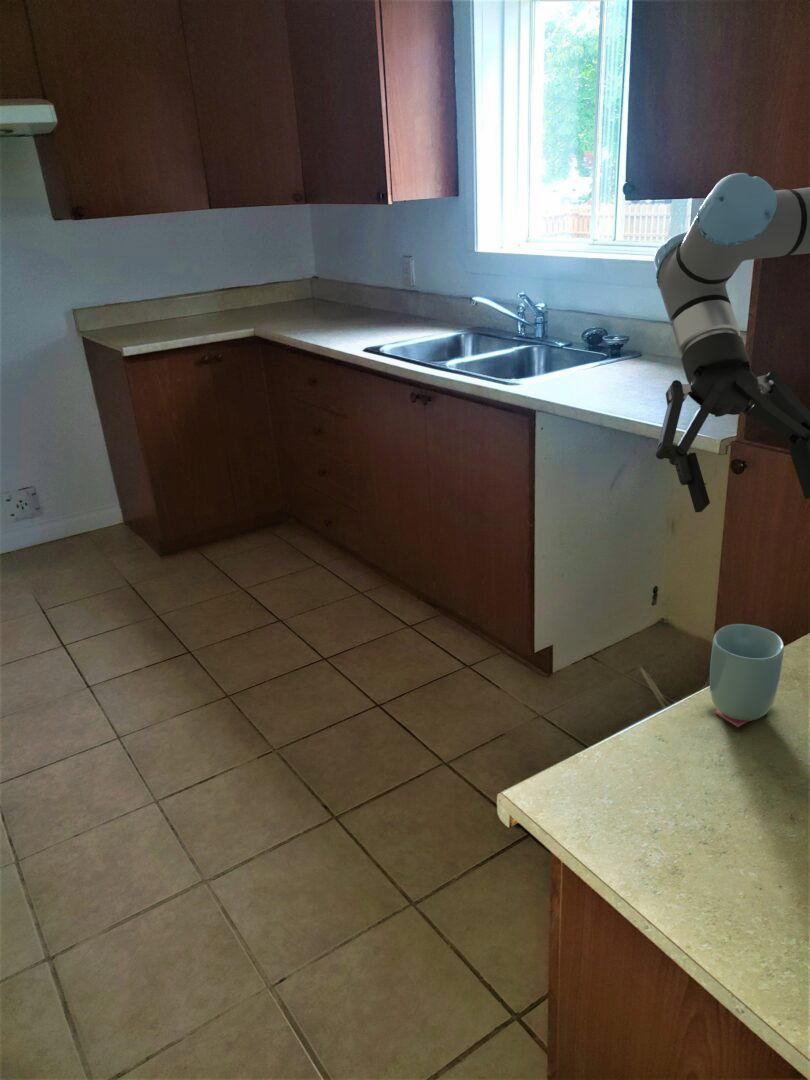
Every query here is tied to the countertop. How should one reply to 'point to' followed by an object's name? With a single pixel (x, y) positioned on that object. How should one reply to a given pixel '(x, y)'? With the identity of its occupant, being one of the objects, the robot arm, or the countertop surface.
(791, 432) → the robot arm
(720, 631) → the cup
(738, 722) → the eraser
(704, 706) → the countertop surface
